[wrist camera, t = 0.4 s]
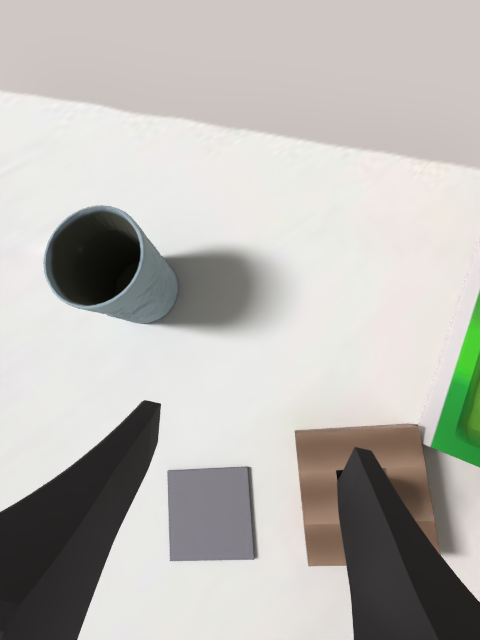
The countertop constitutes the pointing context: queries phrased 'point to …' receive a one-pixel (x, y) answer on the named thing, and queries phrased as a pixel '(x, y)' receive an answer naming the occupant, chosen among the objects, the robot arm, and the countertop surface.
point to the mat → (210, 514)
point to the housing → (332, 454)
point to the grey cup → (109, 266)
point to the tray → (458, 379)
